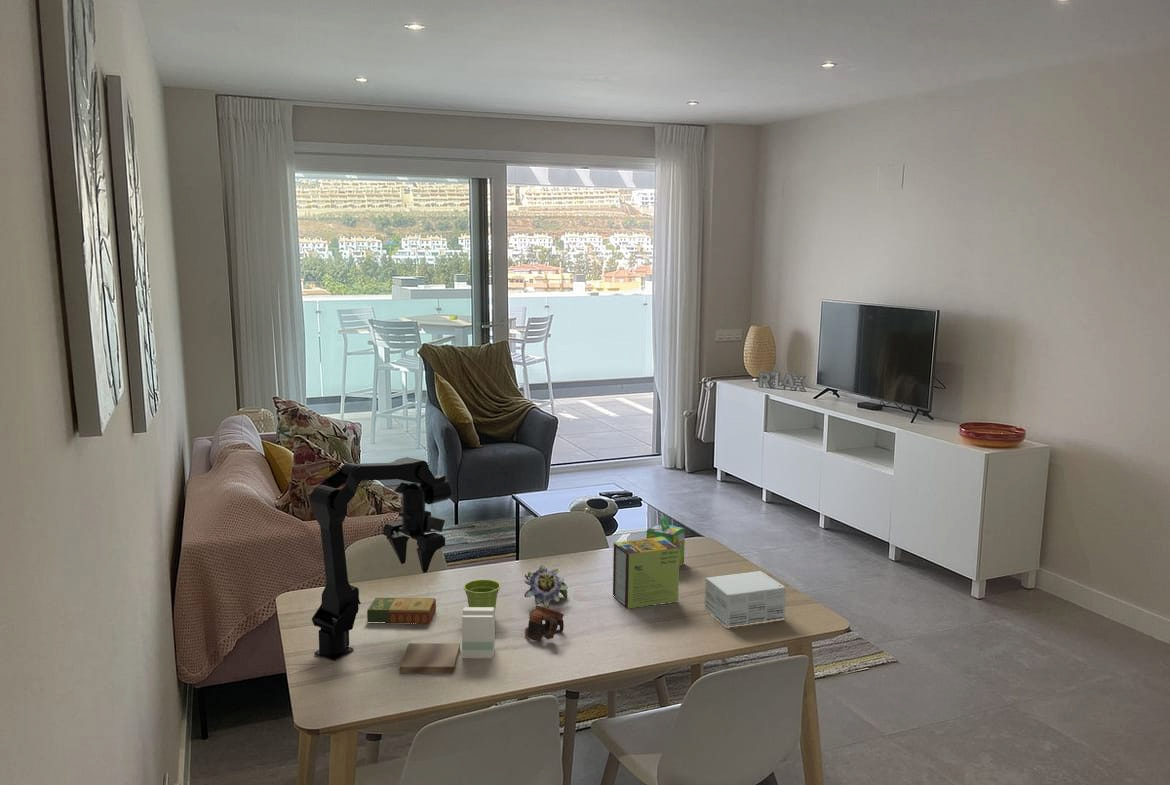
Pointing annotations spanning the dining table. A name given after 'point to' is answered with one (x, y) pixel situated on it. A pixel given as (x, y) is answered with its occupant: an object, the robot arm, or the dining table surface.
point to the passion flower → (545, 586)
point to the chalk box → (669, 535)
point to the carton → (402, 610)
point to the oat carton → (478, 632)
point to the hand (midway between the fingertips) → (413, 567)
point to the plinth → (430, 658)
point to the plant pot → (482, 593)
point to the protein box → (645, 572)
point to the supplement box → (744, 598)
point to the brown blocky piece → (539, 629)
